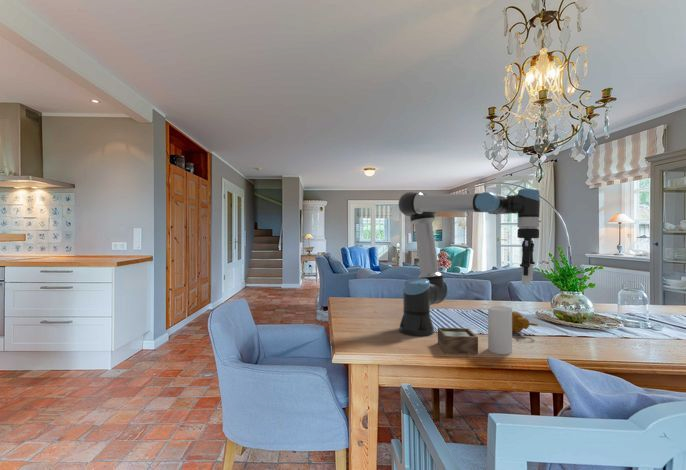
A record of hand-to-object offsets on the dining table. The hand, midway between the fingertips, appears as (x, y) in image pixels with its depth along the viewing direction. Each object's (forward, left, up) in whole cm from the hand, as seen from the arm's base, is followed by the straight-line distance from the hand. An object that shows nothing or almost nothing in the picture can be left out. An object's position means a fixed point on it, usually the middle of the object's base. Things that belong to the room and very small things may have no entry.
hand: (527, 282), depth 134 cm
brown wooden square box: (-22, -19, -25) cm, 38 cm away
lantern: (-9, +19, -25) cm, 33 cm away
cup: (-8, -12, -25) cm, 29 cm away
